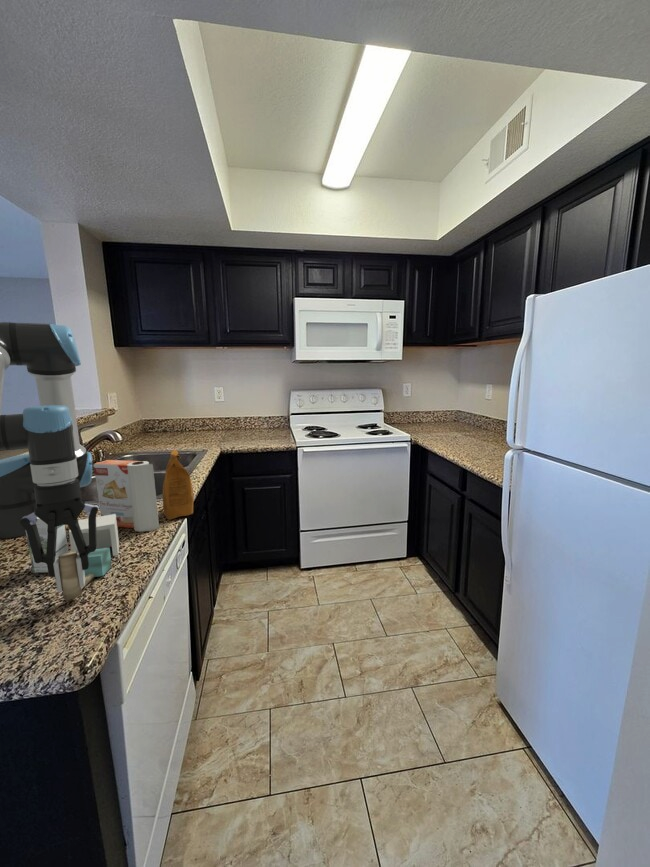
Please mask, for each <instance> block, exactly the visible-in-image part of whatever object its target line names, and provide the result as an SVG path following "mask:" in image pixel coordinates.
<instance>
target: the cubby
mask: <svg viewBox="0 0 650 867" xmlns="http://www.w3.org/2000/svg"><path fill="white" fill-rule="evenodd" d="M88 519H89V517H88V518H83V519H78V523H79V526H80V529H81V532H82V534H83V537H84V540H85V543H86V546H88V545H89V527H88ZM118 529H119V528H118V527H117V520H116V514H112V515H106V516H101V515H100V516H96V533H97V546H96V549H102V548H110V547H111V550H112V557H116V556H119V553H120V552H119V551H120V550H119V549H120V539H119V538H120V537H119V530H118ZM68 535H69V542H70V549H71V552H77V554H78V553H79V552H78V549H77V547H76V544H75V541H74V538H73V535H72V533H71V530H70V529H69V530H68Z"/></svg>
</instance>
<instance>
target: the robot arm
mask: <svg viewBox="0 0 650 867" xmlns="http://www.w3.org/2000/svg"><path fill="white" fill-rule="evenodd" d="M81 364H82V361H81V359H80V355H79V352H78V348H77V344H76V341H75V337H74V334H73V331H72V329H71V328H70V327H69V326H66V325H61V324H52V323H38V322H37V323H36V322H35V323H33V322H30V323H29V322H10V321H0V452H2V451H3V452H4V451H13V450H14V451H15V450H24V449H25V450H26V449H27V450H28V451H27V452H28V453H26V454H19V455H13V456H11V457H5V458H2V459H0V539H2V540H3V539H11V538H17V537H23V536H26V537H27V536H28V539H29V543H30V546H31V550H32V554H33V557H34V561H35V563H40V562H43V563H46V564H47V567H48V573H47V574H48V576H49V578H55V584H56V589H57V593H63V590H62V582H61V574H60V566H59V558H56V559H55V556H56V539H57V526H60V525H65V526H68V528H69V530H71V533H72V535H73V538H74V541H75V544H76V547H77V549H78V552H79V553H78V554H77V557H76V563H77V570H78V577H79V584H80V587H83V586H84V585H85V580H86V579H85V572H84V570H86V569H88V567H89V558H88V554H89V553H90V552H94V551H95V550H96V546H97V533H96V517H97V514H98V512H99V510H100V506H99V503H95V504H93V505H92V504H89V503H86V501H85V500H84V499H83V496H82V491H81V488H83V487H87V486H89V485H90V484H91V482H92V479H93V455H92V452H91V451H90V452H89V451H87V449H86V447H85V446H83V445H82V444H80V437H79V436H80V435H79V428H78V422H77V421H78V420H77V413H76V406H75V398H74V397H75V396H74V389H73V382H72V376H73V375H74V374H75V373H76V372H77V368H76V367H79V366H81ZM10 366H25V367H26V371H27V373H28V374H30V375H31V376H33V377H34V378H35V384H36V389H37V394H38V401H39V405H36V406H35V405H34V406H27V407H25V408H24V409H23V410H22V413H15V414H2V404H3V403H2V402H3V391H4V380H5V371H6V370H7V369H8V368H9V367H10ZM83 510H84V511H85V514H86V516H88V518H89V519H88V518H87V519H88V527H89V545H88V546H86V543H85V540H84V537H83V534H82V532H81V529H80V526H79V523H78V520H79V519H78V518H79V517H80V515H81V513H82V512H83ZM37 517H38V518H40V519H41V520H42V521H44V522H45V523H46V524H47V525H48V528H47V532H48V536H47V553H46V554H44V551H43V547H42V543H41V540H40V536H39V532H38V528H37V525H36V522H37ZM26 532H27V535H26ZM85 586H86V585H85ZM85 586H84V587H85ZM84 587H83V588H84Z"/></svg>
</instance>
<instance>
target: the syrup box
mask: <svg viewBox="0 0 650 867" xmlns="http://www.w3.org/2000/svg"><path fill="white" fill-rule="evenodd" d="M36 525H37V528H38V532H39V536H40V540H41V543H42V547H43V551H44V554H46V553H47V536H48V532H47V528H48V525H47V524H46V523H45V522H44V521H42V520H41V519H40V518H38V517H37V522H36ZM25 536H26V540H27V547H28V551H29V553H28V554H29V558H30V563H31V570H32V573H33V574H49V573H48V567H47V564H46V563H43V562H40V563H35V561H34V557H33V554H32V550H31V546H30V543H29V539H28V536H27V532H26V535H25ZM68 547H69V545H68V540H67V532H66V525H60V526H57V539H56V556H55V559H56V558H58V557H59V556H60V555H62V554H65V553H69V552H70V551H69V548H68Z"/></svg>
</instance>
